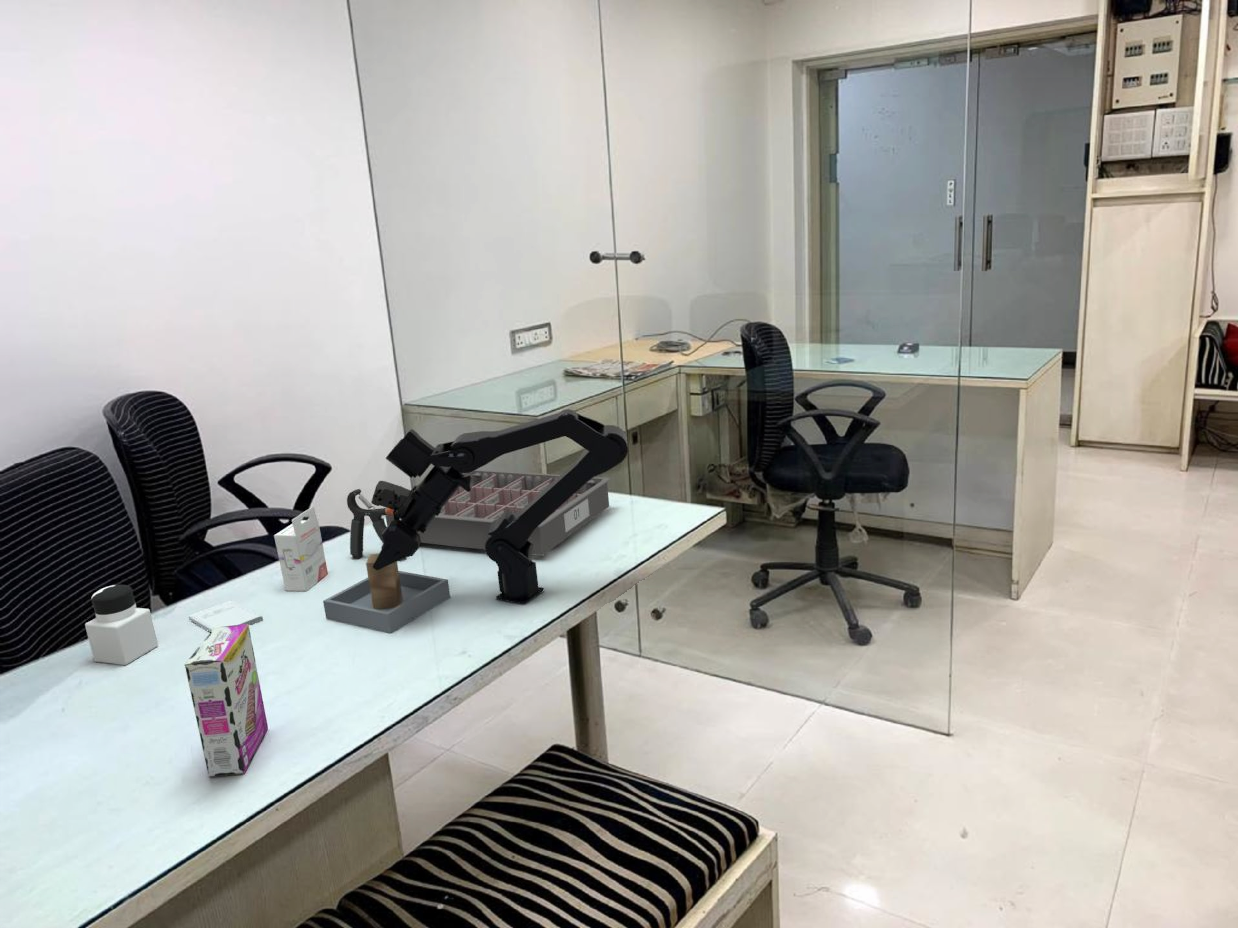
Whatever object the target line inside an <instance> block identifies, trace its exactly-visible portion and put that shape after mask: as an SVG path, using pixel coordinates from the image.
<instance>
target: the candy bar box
mask: <svg viewBox="0 0 1238 928" xmlns="http://www.w3.org/2000/svg"><path fill="white" fill-rule="evenodd" d="M254 651H255V650H254V647H253V642H252V637H251V631H250V626H249V625H248V624H244V625H233V626H225V627H215V628H214V629H213V630H212V631H211V633H210V632H209V634H207V636H206V637H205V639H204V640H203V641H202V642H201V643H200V645H199V646H198V647H197V649H195V651H194V652H193V653H192V655H191V656H190V657H189V658H188V660H187V661H185V663H184V668H185V672H186V676H187V677H186V678H187V682H188V686H189V691H190V695H191V701H192V705H193V710H194V711H193V712H194V715H195V719H196V724H197V729H198V733H199V738H200V743H201V747H202V752H203V757H204V762H205V766H206V769H207V776H208V777H209V778H216V777H217V778H218V777H225V776H226V777H227V776H236V775H237V776H238V775H243V774H245V773H246V771H247V769H248V767H249V766H250V763H251V762H252V760H253V758H254V755H255V754H256V752H257V750H258V748H259V746H260V744H261V743H262V740H263V738H264V737H265V735H266V733H267V731H268V729H269V726H268V725H269V724H268V720H267V715H266V710H265V706H264V700H263V699H264V698H263V696H262V695H263V694H262V690H261V684H260V679H259V675H258V674H259V673H258V668H257V663H256V662H257V661H256V658H255V652H254Z"/></svg>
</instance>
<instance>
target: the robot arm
mask: <svg viewBox="0 0 1238 928" xmlns="http://www.w3.org/2000/svg"><path fill="white" fill-rule="evenodd" d="M563 437H566V438H568V439H570V440H572V441H573V442H575V443H576V444H578V445H579V446H581V448H584V450H583V451H582V452H581V453H580V456H579V457H578V458H577V459H576V460H575V461H574V462H573V463H572V464H570V465H569V466H568V467H567V468H566V469H565V470H564V471H563V472H561V474H559V475H560V476H559V477H558V478H557V479H555V480H554V481H553V482H552V483H551V484H550V485H549V486H548V487H547V488H545V489H544V490H543V491H542V492H541V493H540V494H539V495H538V496H537V497H536V498H534V499H533V500H532V501H531V502H530V503H529V504H528V505H527V506H526V507H524V508H523V509H522V510H520V511H518V512H516V513H513V514H512V513H511V511H510V510H509V509H507V510H506V511H505V512H504V513H503V515H502V516H501V517H500V518H498V519H497V520H494V521H493V522H492V525H491V527H490V530H489V533H488V538H487V541H486V544H485V549H484V550H485V554H486V555H487V557H488V558H489V559H490V560H491V561H492V562H495V563H496V565H497V569H498V571H496V572H497V578H498V579H497V580H498V589H499V592H500V593H499V594H497V595H496V596H495V597H496V600H498V601H499V600H500V601H505V602H510V603H516V604H519V605H520V604H522V605H524V604H527V603H528V602H530V601H532V600H533V599H534V598H536V597H537V596H539V595H540V594H541V593H540V592H542V591H543V590H544V591H545V588H544V587H542V586H541V587H539V580H538V573H537V571H538V570H537V563H536V561H533V560H532V559H531V558H532V556H533V555H532V550H533V543H531V542H530V541H529V540H528V539H529V537H530V535H531V534H532V532H533V531H534V530H535V529H536V528H537V527H538V526H539V525H540V524H541V523H542V522H543V521H545V520H546V519H547V518H548V517H549V516H550V515H551V514H552V513H553V512H555V511H556V510H557V509H558V508H559V507H560V506H561V505H562V504H564V503H565V502H566V501H567V500H568V499H569V498H570V497H571V496H572V495H574V494H575V493H576V492H577V491H578V490H579V489H580V488H581V487H582V486H584V485H585V484H586V483H587V482H588V481H589V480H590V479H592V478H593V477H598V476H599V475H603V474H604V473H607V472H608V471H610V470H611V469H613V468H614V467H617V466H618V465H620V464H621V463H622V462H623V461H625V459H626V457H627V455H628V449H629V448H628V438H627V434H626V433H625V431H624V430H623V429H622V428H621V427H620V426H617V425H615V424H613V425H612V424H606V425H605V424H603V423H602V422H600V421H598V420H597V419H594V418H590V417H587V416H584V415H581V414H580V413H578V412H576V411H574V410H573V409H569V408H567V409H563V410H561V411H559V412H557V413H553V414H551V415H547V416H543V417H541V418H537V419H534V420H530V421H526V422H523V423H520V424H516V425H513V426H510V427H507V428H504V429H503V428H502V429H500V430H494V431H489V430H480V431H473V432H472V431H471V432H463V433H461V434H459V435H458V436H457V437H456V438H455V439H454V440H453V441H447V442H444V443H439V444H437V445H436V446H435V447H434V446H433V445H432V444H431V443H429V442H428V441H426V439H424V438H423V437H421V436H420V434H418V432H417V431H415V430H414V429H413V428H411V429H409V431H408V432H407V433H405V436H404V437H403V438H401V439H400V440H399V441H398V443H396V445H395V446H394V447H393V448H392V449H391V451H389V453H388V454H387V456H386V457H385V459H386V460H387V461H388V462H389V463H391V464H392V465H393V466H395V467H396V468H397V469H399V471H401V472H403V473H404V474H405V475H406V476H408V477H409V478H410V479H412V478H417V477H418V478H421V476H423V474H424V473H425V472H426V471H427V469H428V468H429V467H430V466H431V465H432V466H433V467H432V468H431V469H430V471H429V472H428V473H427V474H426V475H425V477H424V478H423V479H422V480H421V481H420V483H419V484H417V485H414V486H413V487H412V488H411V489H409V488H405V487H403V486H401V485H397V484H394V483H392V482H388V481H385V480H379V481H378V482H377V484H376V486H375V489H374V492H373V495H372V498H371V500H370V501H371V502H370V503H371V504H372V505H373V506H376V507H379V506H380V507H382V508H389V509H393V510H394V511H393V516H394V520H393V521H391V522H390V523H389V524H388V526H387V525H386V528H385V530H384V532H383V534H382V539H383V541H384V543H382V545H381V548H380V549H381V550H380V551H379V555H378V557H377V559H376V561H375V563H374V565H373V568H374V569H375V570H380V569H382V568H384V567H386V566H388V565H390V564H392V563H394V562H396V561H397V562H398V561H400V560H402V559H405V558H410V557H413V556H415V553H416V552H417V551H418V550H419V548H420V545H421V540H420V535H419V534H418V533H417V532H419V531H420V532H422V533H424V532H425V531H426V529H427V526H428V524H429V523H430V522H431V521H432V520H433V518H434V517H435V516H438V515H439V514H440V512H441V510H442V507H443V506H444V505H445V504H446V503H447V501H448V500H449V499H450V498H451V496H452V495H453V494H454V493H455V492H456V490H457V489H458V488H459V487H460V486H461V487H462V488H463V489H465V490H466V491H467V492H470V491H471V489H472V486H473V484H472V480H471V477H472V474H471V473H470V472H472V471H474V470H479V469H480V468H482V467H485V466H486V465H488V464H489V463H491V462H493V461H494V460H496V459H497V458H499V457H501V456H503V455H506V454H509V453H513V452H517V451H519V450H523V449H527V448H529V447H532V446H536V445H539V444H540V445H541V444H543V443H546V442H550V441H554V440H556V439H560V438H563ZM464 473H469V474H464ZM544 591H543V592H544ZM543 592H542V593H543ZM539 593H540V594H539ZM538 594H539V595H538ZM535 596H536V597H535Z"/></svg>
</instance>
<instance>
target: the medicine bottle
mask: <svg viewBox="0 0 1238 928" xmlns="http://www.w3.org/2000/svg"><path fill="white" fill-rule="evenodd" d="M91 602H92V607H93V610H94V613H95V618H93V619H92V620H90V621H88V622H85V624H84V626H85V630H86V634H87V639H88V642H89V646H90V651H91V654H92V657H93V660H94V661H95V662H98V663H105V664H112V665H122V666H127V665H129V664H130V663H132V662H134V661H135V660H137V659H138V658H140V657H143V655H145V654H148V653H149V652H151V651H152V650H153V649H156V648H158V646H159V643H158V639H157V635H156V631H155V626H154V623H153V618H152V614H151V610H150V609H149V608H142V607H137V604H136V599H135V597H134V592H133V588H132V587H131V586H130V585H127V584H112V585H109V586H105V587H103V588H100V589H99V590H97V591H96V592H94V593H93V594H92V596H91Z"/></svg>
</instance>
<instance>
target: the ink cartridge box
mask: <svg viewBox="0 0 1238 928" xmlns="http://www.w3.org/2000/svg"><path fill="white" fill-rule="evenodd" d="M304 517H305V518H308V519H304ZM291 522H292V523H291V524H290V525H288V526H286V527H285V528H283V529H282V530H280V531H279V532H277V533H276V534H274V535H273V537H274V541H275V548H276V551H277V556H278V561H279V564H280V565H279V566H280V570H281V576H282V579H283V585H284V590H285V591H286V592H300V591H301V592H307V591H309V590H310V589H311V588H313V586H315V585H317V583H319V582H320V581H321V580H322V579H323V578H325V577H326V576H327V575H328V574H329V571H328V568H327V567H328V566H327V562H326V560H327V559H326V556H325V550H324V545H323V540H322V534H321V530H320V529H321V528H320V524H319V520H318V517H317V513H316V509H315V506H311V507H310V508H308V509H306V510H305V511H303V512H301V513H300V514H298V515H297V516H296V517H294V518H292V519H291Z"/></svg>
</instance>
